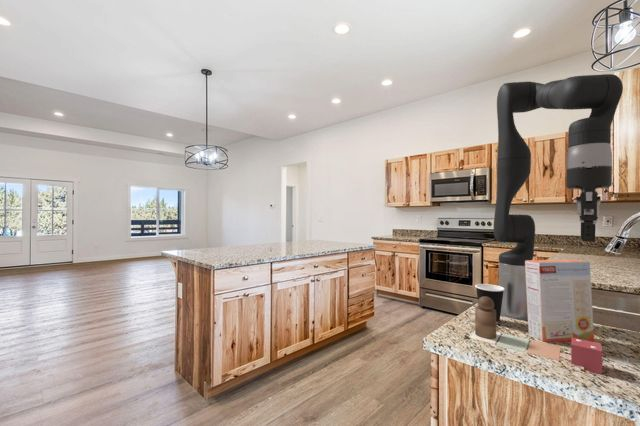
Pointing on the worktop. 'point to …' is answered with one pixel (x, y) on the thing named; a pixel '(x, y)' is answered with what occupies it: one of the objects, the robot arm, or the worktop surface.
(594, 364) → the die
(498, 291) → the dixie cup
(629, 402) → the worktop surface
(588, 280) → the cracker box
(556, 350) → the board
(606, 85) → the robot arm
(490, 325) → the pawn
